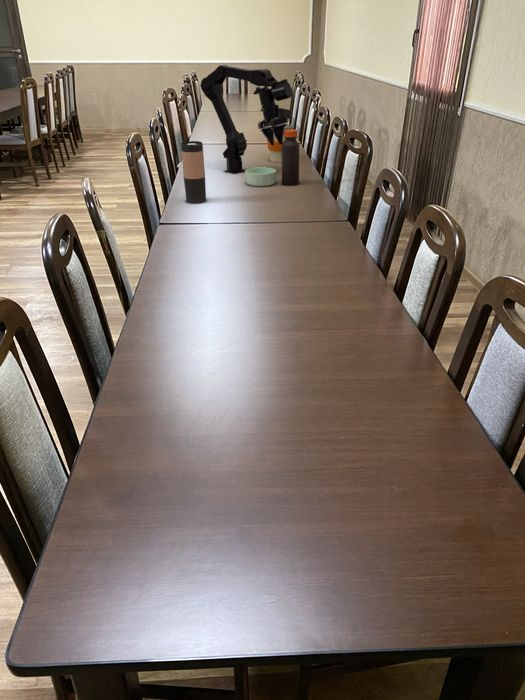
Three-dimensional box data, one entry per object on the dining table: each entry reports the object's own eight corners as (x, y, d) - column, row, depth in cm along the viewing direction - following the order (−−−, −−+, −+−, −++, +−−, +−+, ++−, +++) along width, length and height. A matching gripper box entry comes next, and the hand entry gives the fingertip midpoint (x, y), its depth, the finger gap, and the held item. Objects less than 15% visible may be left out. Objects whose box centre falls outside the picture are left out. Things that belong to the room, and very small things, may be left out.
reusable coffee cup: (267, 157, 260) (267, 124, 253) (293, 157, 259) (294, 124, 252) (265, 163, 250) (264, 128, 242) (292, 163, 248) (292, 128, 241)
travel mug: (186, 198, 199) (181, 141, 188) (206, 197, 199) (202, 140, 189) (185, 204, 192) (179, 145, 182) (206, 203, 193) (202, 144, 182)
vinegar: (279, 185, 214) (279, 131, 203) (285, 181, 219) (285, 128, 209) (295, 186, 211) (296, 132, 201) (301, 182, 217) (301, 129, 207)
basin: (239, 184, 216) (239, 171, 214) (259, 178, 224) (259, 166, 221) (262, 188, 209) (262, 175, 207) (282, 182, 217) (282, 169, 214)
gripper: (295, 96, 208) (303, 138, 214) (277, 102, 224) (286, 141, 230) (269, 103, 205) (278, 145, 211) (253, 108, 222) (262, 147, 228)
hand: (276, 144), depth 220 cm, fingers open, 9 cm apart
